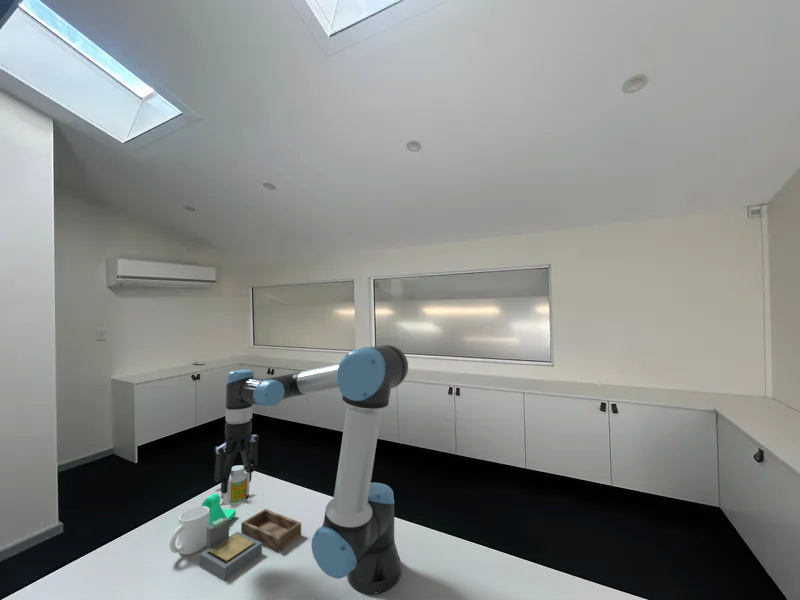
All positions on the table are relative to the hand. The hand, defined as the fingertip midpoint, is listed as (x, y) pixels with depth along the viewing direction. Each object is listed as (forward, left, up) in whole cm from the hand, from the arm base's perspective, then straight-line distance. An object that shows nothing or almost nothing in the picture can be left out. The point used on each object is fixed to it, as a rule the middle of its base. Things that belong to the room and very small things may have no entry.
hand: (236, 498), depth 100 cm
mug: (+17, +5, -18) cm, 25 cm away
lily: (+34, -21, -18) cm, 44 cm away
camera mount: (+24, -8, -18) cm, 31 cm away
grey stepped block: (+2, +1, -18) cm, 18 cm away
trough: (0, -13, -18) cm, 22 cm away
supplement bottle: (0, 0, -1) cm, 1 cm away
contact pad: (+1, +1, -15) cm, 15 cm away
